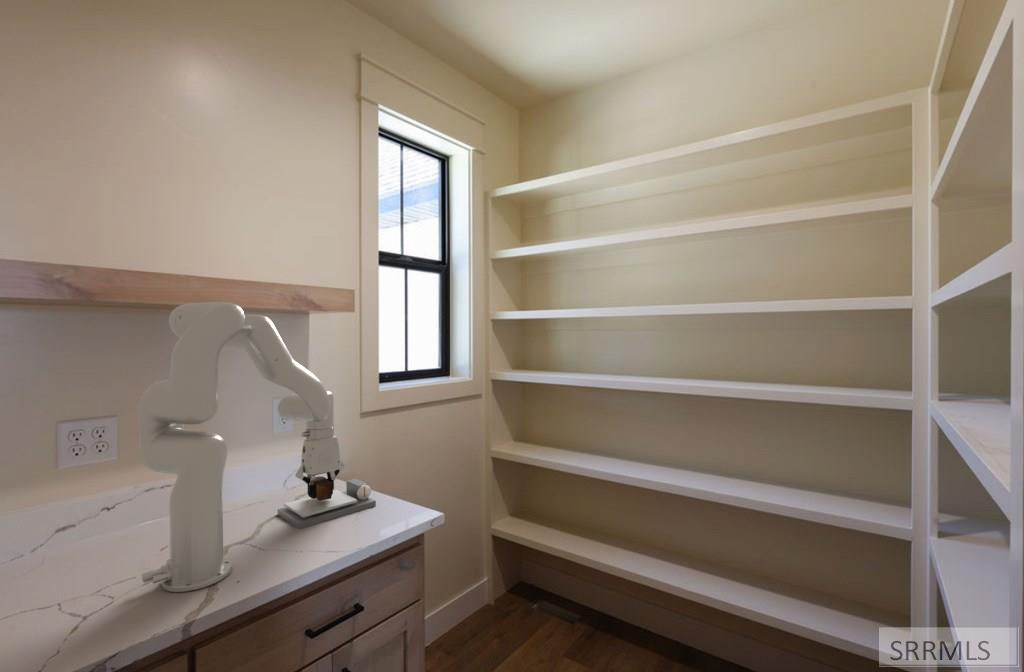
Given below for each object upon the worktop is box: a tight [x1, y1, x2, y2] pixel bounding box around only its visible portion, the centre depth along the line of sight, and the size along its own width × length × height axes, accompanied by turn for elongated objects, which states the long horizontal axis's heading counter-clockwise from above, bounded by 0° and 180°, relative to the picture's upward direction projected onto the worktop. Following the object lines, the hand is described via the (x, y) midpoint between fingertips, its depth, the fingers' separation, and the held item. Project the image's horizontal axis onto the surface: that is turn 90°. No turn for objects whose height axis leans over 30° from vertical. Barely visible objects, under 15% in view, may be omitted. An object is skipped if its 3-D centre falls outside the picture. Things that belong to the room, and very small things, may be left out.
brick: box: [314, 476, 334, 501], centre depth 140 cm, size 11×4×5 cm, turn 38°
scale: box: [277, 478, 377, 530], centre depth 141 cm, size 23×15×6 cm, turn 137°
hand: (321, 494), depth 139 cm, fingers closed on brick, 4 cm apart
